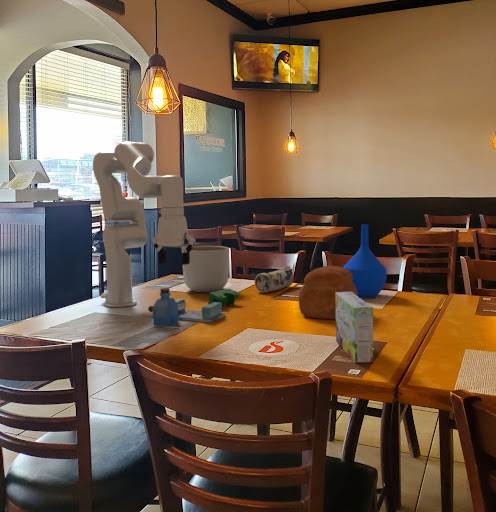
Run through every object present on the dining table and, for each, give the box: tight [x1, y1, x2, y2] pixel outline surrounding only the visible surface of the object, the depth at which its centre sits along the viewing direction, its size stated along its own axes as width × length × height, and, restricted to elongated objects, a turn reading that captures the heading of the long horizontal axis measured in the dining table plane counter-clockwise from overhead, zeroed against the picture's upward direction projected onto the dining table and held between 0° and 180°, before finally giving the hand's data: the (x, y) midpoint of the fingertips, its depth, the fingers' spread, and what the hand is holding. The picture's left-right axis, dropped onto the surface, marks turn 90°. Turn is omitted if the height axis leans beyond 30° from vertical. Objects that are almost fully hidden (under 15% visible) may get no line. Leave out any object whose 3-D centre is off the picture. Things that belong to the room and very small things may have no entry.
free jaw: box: [147, 298, 187, 313], centre depth 203 cm, size 10×10×4 cm
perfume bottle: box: [152, 287, 179, 327], centre depth 189 cm, size 6×6×12 cm
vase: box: [343, 223, 388, 298], centre depth 233 cm, size 18×18×30 cm
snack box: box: [335, 292, 374, 364], centre depth 155 cm, size 21×6×15 cm, turn 5°
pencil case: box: [254, 265, 295, 293], centre depth 250 cm, size 22×8×10 cm, turn 146°
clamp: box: [207, 288, 240, 309], centre depth 218 cm, size 12×6×9 cm, turn 134°
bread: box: [298, 265, 357, 320], centre depth 202 cm, size 18×22×17 cm
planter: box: [181, 245, 230, 294], centre depth 250 cm, size 21×21×19 cm
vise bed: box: [178, 302, 226, 324], centre depth 199 cm, size 20×11×5 cm, turn 67°
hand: (174, 263), depth 190 cm, fingers open, 9 cm apart
